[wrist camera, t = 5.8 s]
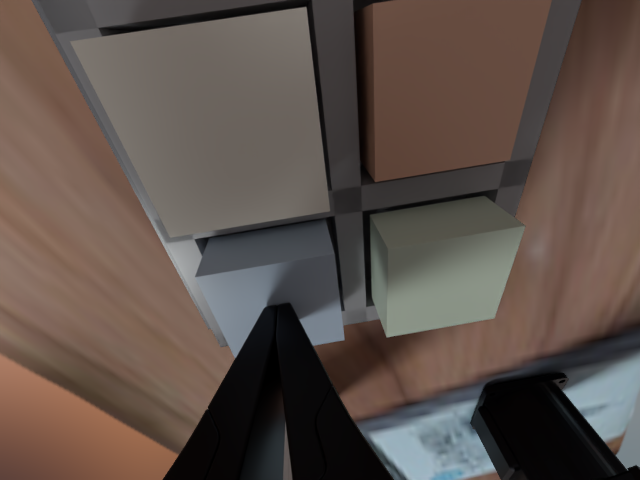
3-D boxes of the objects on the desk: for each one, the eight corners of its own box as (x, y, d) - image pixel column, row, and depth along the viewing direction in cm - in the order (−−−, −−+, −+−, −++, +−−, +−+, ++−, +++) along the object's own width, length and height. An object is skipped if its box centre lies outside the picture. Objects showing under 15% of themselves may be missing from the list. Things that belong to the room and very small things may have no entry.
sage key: (484, 195, 10) (525, 225, 8) (464, 281, 12) (494, 318, 10) (369, 214, 10) (388, 248, 8) (371, 297, 12) (386, 337, 10)
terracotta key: (498, -9, 8) (558, -25, 6) (471, 141, 10) (510, 159, 8) (352, 13, 8) (372, 3, 6) (359, 159, 10) (375, 181, 8)
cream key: (299, 17, 7) (305, 6, 5) (320, 180, 9) (330, 211, 7) (123, 43, 6) (70, 41, 5) (190, 201, 9) (170, 237, 7)
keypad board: (574, -102, 8) (678, -155, 6) (478, 270, 15) (509, 304, 13) (37, -27, 7) (-55, -56, 5) (211, 316, 15) (201, 358, 13)
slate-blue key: (325, 219, 10) (334, 253, 8) (335, 299, 12) (344, 340, 10) (209, 238, 10) (194, 277, 8) (241, 316, 12) (235, 359, 10)
